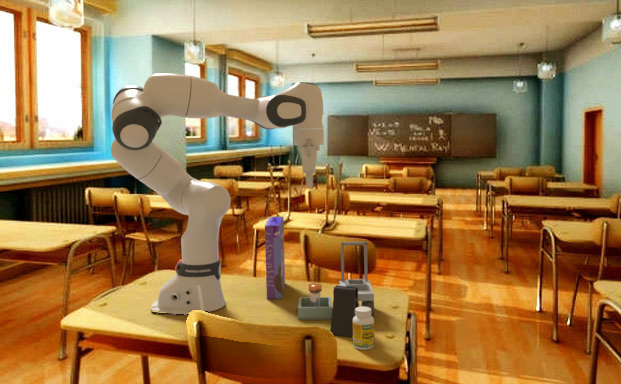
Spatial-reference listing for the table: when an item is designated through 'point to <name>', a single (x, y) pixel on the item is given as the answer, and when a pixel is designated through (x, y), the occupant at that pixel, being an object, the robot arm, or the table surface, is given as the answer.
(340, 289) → the phone stand
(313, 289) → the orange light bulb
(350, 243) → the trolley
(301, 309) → the bin
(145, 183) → the robot arm
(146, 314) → the table surface
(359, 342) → the supplement bottle
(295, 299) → the table surface
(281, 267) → the cereal box
